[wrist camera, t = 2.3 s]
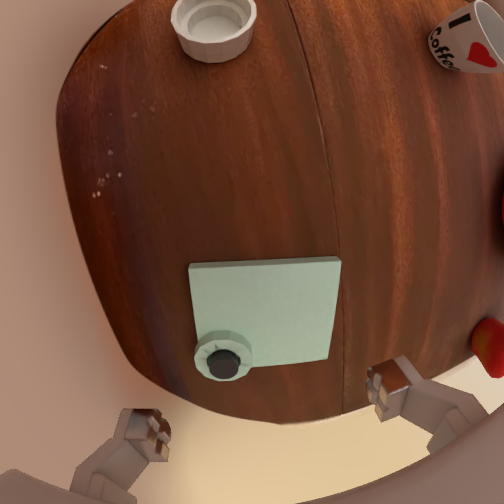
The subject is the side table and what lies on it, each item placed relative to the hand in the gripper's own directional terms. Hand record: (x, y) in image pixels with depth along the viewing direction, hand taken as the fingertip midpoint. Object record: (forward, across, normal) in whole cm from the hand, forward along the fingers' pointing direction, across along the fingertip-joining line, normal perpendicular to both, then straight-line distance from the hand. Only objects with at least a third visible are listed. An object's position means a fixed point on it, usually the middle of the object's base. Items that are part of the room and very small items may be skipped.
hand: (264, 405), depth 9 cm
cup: (+17, -28, -20) cm, 38 cm away
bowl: (+17, -2, -20) cm, 27 cm away
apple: (+18, -38, +24) cm, 48 cm away
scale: (+17, -1, +7) cm, 19 cm away
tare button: (+14, +4, +10) cm, 18 cm away
